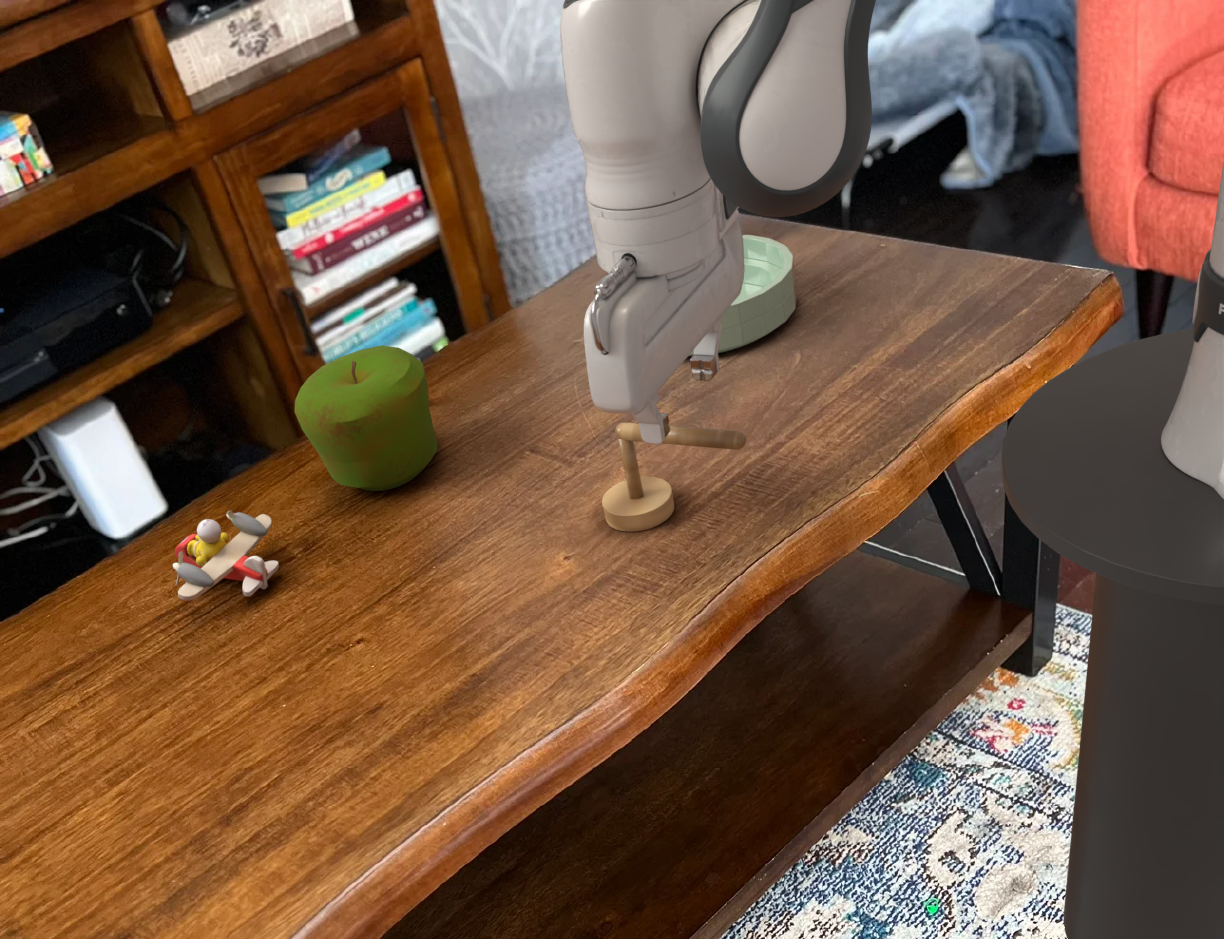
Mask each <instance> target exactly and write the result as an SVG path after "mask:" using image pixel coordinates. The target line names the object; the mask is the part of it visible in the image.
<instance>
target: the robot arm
mask: <svg viewBox="0 0 1224 939" xmlns="http://www.w3.org/2000/svg"><path fill="white" fill-rule="evenodd" d="M876 1H877V0H564V1H563V5H562V8H561V12H560V20H559V22H560V23H559V25H560V26H559V37H560V38H559V39H560V53H561V63H562V69H563V78H564V85H565V91H566V99H567V104H568V109H569V110H568V111H569V116H570V119H571V126H572V130H573V131H572V132H573V133H574V136H575V138H576V140H577V142H578V144H579V146H580V149H581V152H582V155H583V159H584V166H585V167H584V168H585V176H584V194H585V195H584V196H585V201H586V207H587V213H588V217H589V223H590V229H591V233H592V239H593V244H594V249H595V255H596V260H597V264H598V266H599V267H600V269H602V270H603V271H604V272H605V273H608V274H606V276H603V277H602V278H600V280H598V281H597V283H596V284H595V286H594V288H593V294H594V297H593V300H592V301H591V302H590V303H589V305H588V307H587V309H586V310H585V311H586V312H585V315H584V320H583V345H584V353H585V354H584V355H585V363H586V372H587V378H588V386H589V392H590V397H591V401H592V403H593V405H594V406H595V407H596V408H597V409H598V410H599V411H600V412H603V413H606V414H614V415H630V416H632V417H633V419H634V420H635V421H636V422H637V423H638V424H639V427H640V432H641V438H642V440H643V441H644V442H643V443H645V444H653V445H660V444H661V443H662V442H663V440H664V439H665V438H666V436H667V435H668V434H669V432H670V426H671V425H670V418H669V414H668V413H667V412H666V413H665V412H661V411H660V409H659V407H658V405H657V404H658V403H659V402H660V395H659V392H660V391H661V389H662V388H663V387H664V386H665V384H666V383H667V382H668V381H669V380H670V379H671V377H672V376H673V375H674V374H675V372H677V370H678V369H679V368H680V367H681V366H682V364H683V363H684V362H685V361H686V359H687V358H688V357H690V356H689V354H690V353H691V352H692V351H693V350H694V355H693V356H691V358H690V359H689V363H690V368H691V376H692V378H693V379H694V381H697V382H701V381H704V382H711V381H712V380H713V379H714V377H716V375H717V374H718V373H719V372H720V361H719V360H720V359H719V353H718V350H719V343H720V336H721V330H722V319H721V316H722V315H723V314H724V313H725V311H726V310H727V309H728V308H729V307H730V305H731V304H732V303H733V302H734V301H735V299H736V298H737V297H738V296H739V295H740V293H741V289H742V285H743V280H744V271H745V267H744V247H743V235H744V234H743V224H742V218H741V214H740V212H739V210H738V209H739V208H740V209H741V210H744V211H745V212H748V213H751V214H753V215H757V216H761V217H768V218H787V217H788V218H789V217H793V216H794V217H795V216H798V215H801V214H805V213H807V212H810V211H812V210H814V209H817V208H819V207H821V206H822V205H824V204H825V203H827V202H828V201H830V200H832V199H833V198H834V197H835V196H836V195H837V194H839V193H840V192H841V191H842V190H843V189H844V188H845V186H846V185H847V184H848V183H849V182H850V181H851V180H852V178H853V177H854V175H855V174H856V172H857V171H858V169H859V167H860V166H861V163H862V161H863V160H864V157H865V154H866V151H867V150H868V145H869V141H870V138H871V134H872V133H871V132H872V123H873V102H872V91H871V80H870V70H869V42H870V41H869V39H870V30H871V25H872V19H873V15H874V10H875V6H876ZM1212 231H1213V233H1212V240H1211V246H1210V249H1208V250H1207V252H1206V255H1205V257H1204V260H1203V263H1202V265H1201V269H1200V270H1199V272H1198V278H1197V284H1196V290H1195V295H1194V305H1193V314H1192V320H1191V324H1192V325H1193V338H1194V340H1195V341H1194V345H1193V350H1192V354H1191V357H1190V361H1189V364H1188V368H1187V371H1186V375H1185V378H1184V381H1183V384H1182V387H1181V390H1180V393H1179V396H1178V398H1177V401H1176V403H1175V406H1174V409H1173V411H1172V413H1171V415H1170V418H1169V420H1168V421H1167V423H1166V425H1165V427H1164V429H1163V432H1162V435H1161V446H1162V449H1163V451H1164V453H1165V455H1166V457H1167V458H1168V459H1169V460H1170V462H1171V463H1172V464H1173V465H1175V466H1176V467H1177V468H1178V469H1180V470H1181V471H1183V472H1184V473H1186V474H1188V475H1190V476H1191V477H1194V478H1196V479H1198V480H1200V481H1202V482H1204V483H1206V484H1208V485H1210V486H1211V487H1213V488H1214V489H1215V490H1216V492H1217V493H1218V494H1219V495H1220V496H1221V497H1222V498H1223V499H1224V159H1223V161H1222V168H1221V175H1220V182H1219V189H1218V195H1217V204H1216V212H1215V218H1214V226H1213V230H1212Z"/></svg>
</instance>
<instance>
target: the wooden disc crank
mask: <svg viewBox="0 0 1224 939" xmlns="http://www.w3.org/2000/svg"><path fill="white" fill-rule="evenodd" d="M669 426H670V432H669V434H668V435H667V436H666V438H665V439H664V440H663V442H662V443H661V444H662V445H674V446H686V447H687V446H688V447H700V448H712V449H722V450H736V451H739V450H741V449H743V448H744V447H745V446H746V443H747V437H746V435H745V433H744V432H742V431H740V430H731V429H730V430H729V429H718V428H717V429H715V428H703V427H690V426H677V425H669ZM614 433H615V437H616V438H617V443H618V447H619V452H620V457H621V461H622V467H623V471H624V476H625V479H623V480H622V481H620V482H617V483H615V484H614V485H613V486H611V487H609V489H607V491H606V492H604V494H603V496H602V498H601V505H602V509H603V514H604V518H605V521H606V523H607V525H608V526H609V527H610V528H612V529H614V530H617V531H620V532H628V533H632V532H633V533H635V532H641V531H647V530H650V529H653V528H656V527H657V526H659V525H661V524H663V523H664V522H666V521H667V520H668V519H669V518H670V517H671V516H672V514H673V513H674V511H675V500H674V494H673V488H672V486H671V483H669V482H668V481H666V480H665V479H663V478H661V477H657V476H649V475H643V476H641V474H640V469H639V464H638V459H637V454H636V447H635V444H634V442H637V443H645V442H644V441H643V440H642V438H641V432H640V427H639V422H637V423H636V422H619V423H618V424H617V425H616V427H615V430H614Z"/></svg>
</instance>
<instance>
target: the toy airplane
mask: <svg viewBox="0 0 1224 939" xmlns="http://www.w3.org/2000/svg"><path fill="white" fill-rule="evenodd" d="M225 516H226V518H227V519H228V520H230V521H231V524H232V525H233V526H234V527H235V528H236V529H238V530H240V531H239V532H238V533H237V535H235V536H234V537H233V538H232V539H231V540H230V535H229V534H228V533H227V532H225V531H224V532H223V531H222V527H221V525H220V524H219V523H218V521H216V520H214V519H209V518H205V519H203V520H201V521H200V522H198V524H197V527H196V533H193V534H190V535H187V536H186V537H185V538H184V539H183V540H182V541H180V543H179V544H178V545H177V546H176V547H175V549H174V556H175V557H176V558H177V559H178V562H174V563H173V564H172V568H173V569H174V570H175V571H176V573H177V576H176V577H177V578H176V583H175V584H176V586H179V583H180V578H181V579H182V580H184V581H185V583H184V584H183V585H181V587H179V589H178V591H177V596H178V598H179V599H180V600H183V601H185V602H186V601H189V602H190V601H194V600H196V599H198V598H199V597H201V596H203V594H205V593H206V592H207V591H209V590H210V589H212V588H213V587H214V586H215V585H216V584H218V583H219V582H220V581H222V580H223V579H227V580H233V581H242V586H241V587H242V594H243V596H245V597H251V596H253V595H254V594H255V593H256V592H257V591H258V590H259V589H262V590H266V589H267V588H268V586H269V584H268V580H269V579H270V578H271V577H272V576H273V575H274V574H275V573H276V572H277V571H278V570H279V568H280V564H279V561H278V560H275V559H274V560H268V561H264V559H263V558H262V557H261V556H258V555H252V556H249V555H250V554H251V553H252V551H253V550H254V549H255V548H256V547H257V545H258V544H259V543H260V542H261V541H262V539H263V538H264V537H265V536H267V535H268V533H269V532H270V530H271V528H272V524H273V523H272V522H273V521H272V518H271V517H270V515H268V514H264V513H262V514H259V515H258V516H256V517H254V516H251V515H250V514H247V513H244V512H240V511H239V512H236V513H235V512H233V511H232V510H228V511H227V512H226V515H225ZM227 542H228V543H227ZM226 543H227V544H226Z"/></svg>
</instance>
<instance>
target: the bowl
mask: <svg viewBox="0 0 1224 939" xmlns="http://www.w3.org/2000/svg"><path fill="white" fill-rule="evenodd" d="M743 247H744V267H745V271H744V280H743V285H742V289H741V293H740V295H739V296H738V297H737V298H736V299H735V301H734V302H733V303H732V304H731V305H730V307H729V308H728V309H727V310H726V311H725V313H724V314H723V315H722V316H721V319H722V330H721V336H720V343H719V350H718V354H720V353H725V352H729V351H733V350H736V349H740V348H742V347H744V346H748V345H750V344H752V343H754V342H756V341H758V340H759V339H761V338H763V337H765V336H767V335H769V334H770V333H772V332H773V331H774V330H776V329H777V328H779V327H780V326H782V325H783V324H785V323H786V322H787V321H788V319H789V318H790V316H792V315H793V313H794V311H795V310H796V305H797V297H798V296H797V295H798V293H797V284H796V283H797V282H796V272H795V271H796V270H795V261H794V255H793V253H792V252H791V251H790V249H789V248H788V247H787V246H786V245H785V244H783V243H782V242H779V241H777V240H774V239H773V238H770V237H763V236H758V235H753V234H743ZM693 355H694V350H693V351H692V352H691V353H690V354H689V356H688V357H693Z"/></svg>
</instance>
